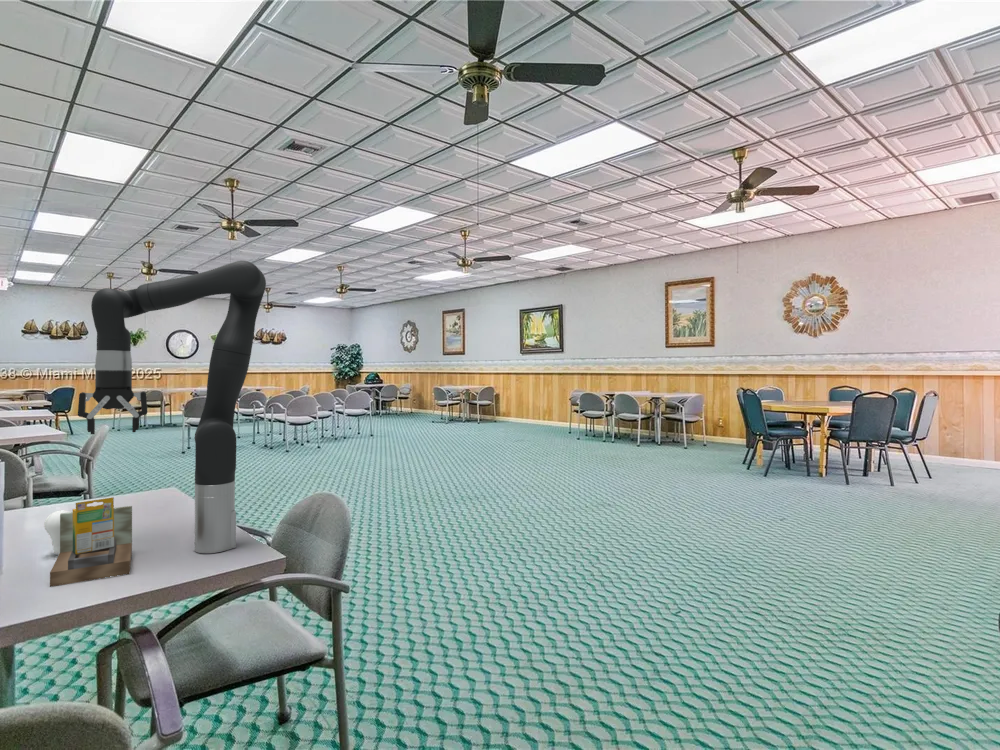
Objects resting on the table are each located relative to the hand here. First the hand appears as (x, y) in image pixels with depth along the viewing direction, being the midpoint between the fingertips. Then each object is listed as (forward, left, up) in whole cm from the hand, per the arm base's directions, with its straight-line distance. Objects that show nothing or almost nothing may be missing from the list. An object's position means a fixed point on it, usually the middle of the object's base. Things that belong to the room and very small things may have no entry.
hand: (113, 433), depth 137 cm
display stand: (+3, +12, -30) cm, 33 cm away
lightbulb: (+11, -4, -30) cm, 32 cm away
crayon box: (+3, +14, -25) cm, 29 cm away
